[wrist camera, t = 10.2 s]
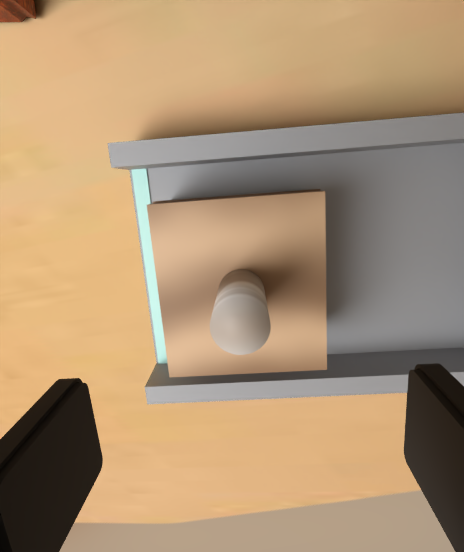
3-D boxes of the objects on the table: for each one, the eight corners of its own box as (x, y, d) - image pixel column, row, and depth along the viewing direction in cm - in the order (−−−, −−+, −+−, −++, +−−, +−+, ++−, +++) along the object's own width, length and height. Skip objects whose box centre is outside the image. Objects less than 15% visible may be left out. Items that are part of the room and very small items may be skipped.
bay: (130, 150, 29) (101, 141, 23) (509, 118, 27) (580, 100, 22) (161, 373, 34) (144, 411, 28) (483, 357, 32) (535, 394, 27)
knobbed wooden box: (168, 198, 29) (108, 209, 16) (307, 188, 28) (357, 190, 16) (184, 337, 32) (144, 437, 19) (310, 330, 31) (354, 429, 19)
